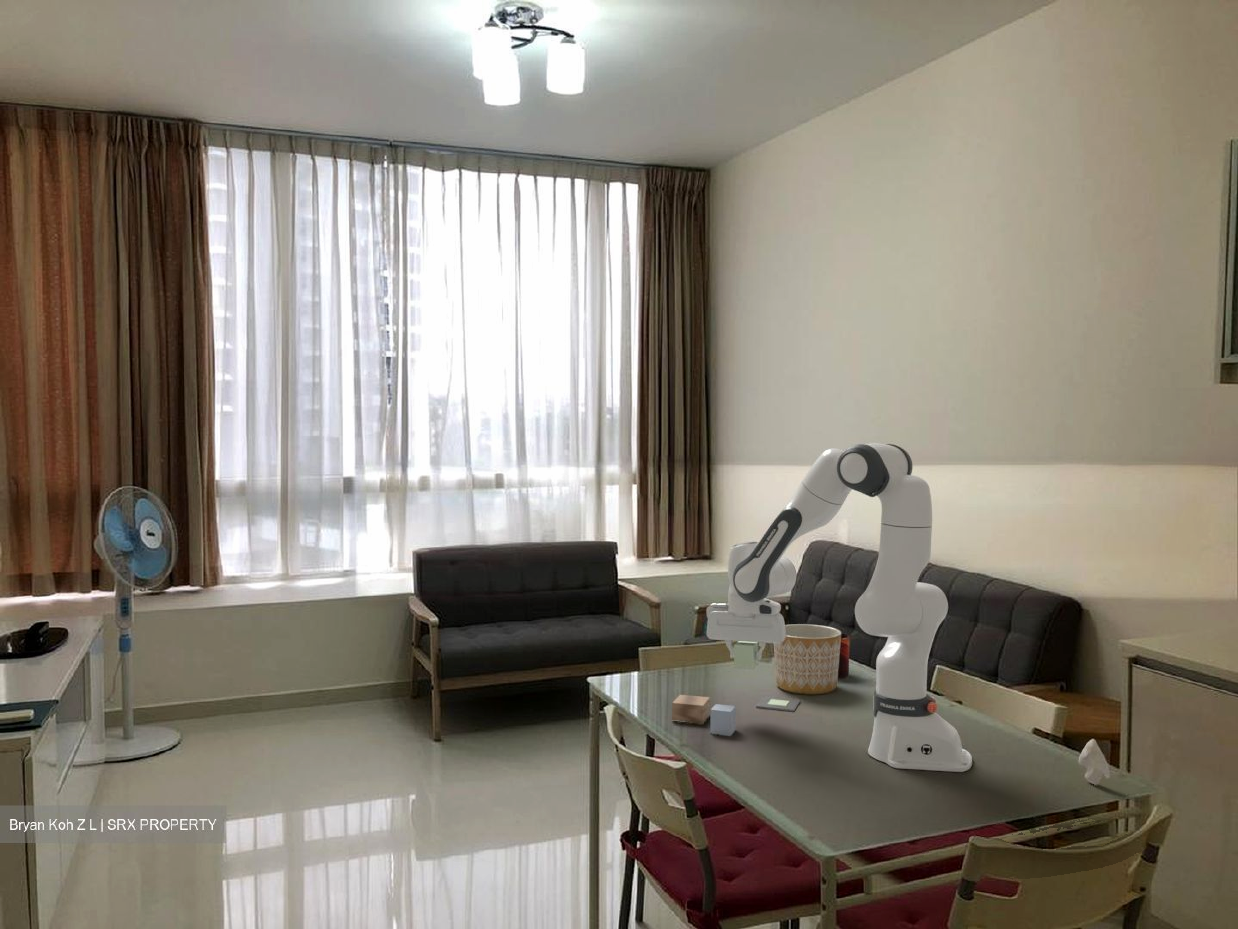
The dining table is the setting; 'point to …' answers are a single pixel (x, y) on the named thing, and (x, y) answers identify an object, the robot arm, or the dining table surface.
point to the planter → (808, 659)
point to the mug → (844, 657)
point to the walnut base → (691, 709)
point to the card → (778, 703)
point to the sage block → (745, 655)
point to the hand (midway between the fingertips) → (746, 658)
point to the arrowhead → (1094, 763)
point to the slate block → (723, 720)
